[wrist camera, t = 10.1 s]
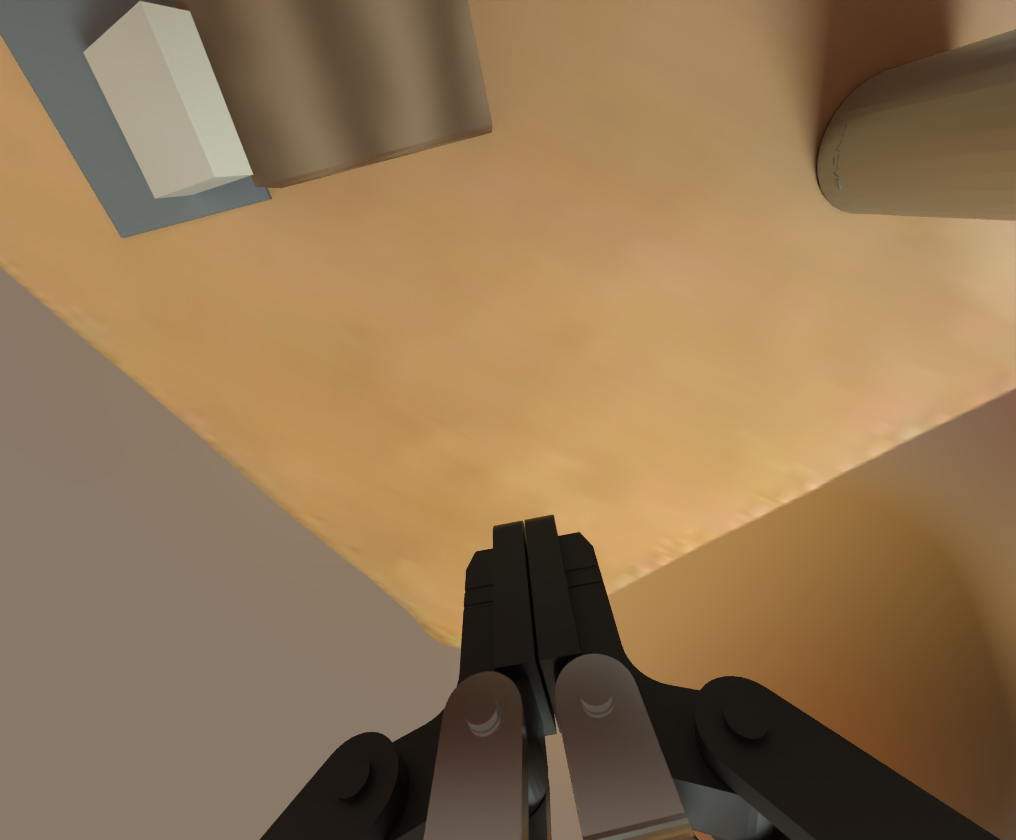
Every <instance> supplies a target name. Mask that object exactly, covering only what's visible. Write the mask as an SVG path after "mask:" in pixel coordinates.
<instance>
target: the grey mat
mask: <svg viewBox="0 0 1016 840" xmlns="http://www.w3.org/2000/svg"><path fill="white" fill-rule="evenodd" d="M139 1H143V2H148V3H153V4H158V5H163V6H167V7H172V8H177V7H176V5H175V2H174V0H0V34H1V36H2V38H3V39H4V41H5V43H6V44H7V46H8V48H9V49H10V51H11V53H12V55H13V56H14V58H15V60H16V61H17V63H18V65H19V66H20V68H21V70H22V71H23V73H24V75H25V76H26V78H27V80H28V81H29V83H30V85H31V86H32V88H33V90H34V92H35V93H36V95H37V97H38V98H39V100H40V102H41V103H42V105H43V107H44V108H45V110H46V112H47V113H48V115H49V117H50V118H51V120H52V122H53V123H54V125H55V127H56V129H57V130H58V132H59V134H60V135H61V137H62V139H63V140H64V142H65V144H66V145H67V147H68V149H69V150H70V152H71V154H72V155H73V157H74V159H75V160H76V162H77V164H78V166H79V167H80V169H81V171H82V172H83V174H84V176H85V177H86V179H87V181H88V182H89V184H90V186H91V187H92V189H93V191H94V192H95V194H96V196H97V197H98V199H99V201H100V202H101V204H102V206H103V208H104V209H105V211H106V213H107V214H108V216H109V218H110V219H111V221H112V223H113V224H114V226H115V228H116V229H117V231H118V233H119V234H120V236H121V238H125V237H129V236H132V235H136V234H140V233H144V232H148V231H151V230H155V229H159V228H163V227H167V226H170V225H174V224H178V223H182V222H186V221H189V220H193V219H197V218H201V217H205V216H208V215H212V214H216V213H220V212H224V211H227V210H231V209H235V208H239V207H243V206H246V205H250V204H254V203H258V202H262V201H265V200H269V199H272V198H271V196H270V193H269V191H268V189H267V187H255V185H254V182H253V180H252V178H251V176H248V177H245V178H242V179H239V180H236V181H233V182H230V183H227V184H224V185H221V186H218V187H215V188H212V189H209V190H206V191H203V192H200V193H197V194H194V195H188V196H177V197H167V198H156V199H155V198H154V195H153V193H152V191H151V189H150V187H149V185H148V183H147V181H146V179H145V177H144V175H143V173H142V171H141V169H140V167H139V165H138V163H137V161H136V159H135V157H134V155H133V153H132V151H131V149H130V147H129V145H128V143H127V141H126V139H125V136H124V134H123V132H122V130H121V128H120V126H119V124H118V122H117V120H116V118H115V116H114V114H113V112H112V110H111V108H110V106H109V104H108V102H107V100H106V98H105V96H104V94H103V92H102V90H101V88H100V86H99V84H98V82H97V80H96V77H95V75H94V73H93V71H92V69H91V67H90V65H89V63H88V61H87V59H86V57H85V55H84V53H83V52H84V51H85V50H86V49H87V48H88V47H89V46H91V45H92V44H93V43H94V42H95V41H96V40H97V39H98V38H99V37H101V36H102V35H103V34H104V33H105V32H106V31H107V30H108V29H109V28H110V27H112V26H113V25H114V24H115V23H116V22H117V21H118V20H119V19H120V18H121V17H123V16H124V15H125V14H126V13H127V12H128V11H129V10H130V9H131V8H133V7H134V6H135V5H136V4H137V3H138V2H139Z"/></svg>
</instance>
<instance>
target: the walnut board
mask: <svg viewBox="0 0 1016 840" xmlns="http://www.w3.org/2000/svg"><path fill="white" fill-rule="evenodd" d="M174 2H175V5H176V7H177V9H182V10H186V11H190V13H191V15H192V18H193V21H194V23H195V26H196V28H197V31H198V33H199V36H200V39H201V41H202V44H203V46H204V49H205V51H206V54H207V57H208V59H209V62H210V64H211V67H212V70H213V72H214V75H215V77H216V80H217V82H218V85H219V88H220V90H221V93H222V95H223V98H224V100H225V103H226V106H227V108H228V111H229V113H230V116H231V118H232V121H233V124H234V126H235V129H236V131H237V134H238V136H239V139H240V142H241V144H242V147H243V149H244V152H245V155H246V157H247V160H248V162H249V165H250V167H251V170H252V173H253V175H251V178H252V180H253V182H254V185H255V187H269V188H283V187H287V186H291V185H295V184H299V183H302V182H306V181H310V180H314V179H317V178H321V177H325V176H329V175H333V174H336V173H340V172H344V171H348V170H351V169H355V168H359V167H363V166H366V165H370V164H374V163H378V162H382V161H385V160H389V159H393V158H397V157H400V156H404V155H408V154H412V153H416V152H419V151H423V150H427V149H431V148H434V147H438V146H442V145H446V144H450V143H453V142H457V141H461V140H465V139H468V138H472V137H476V136H480V135H484V134H487V133H491V132H492V121H491V116H490V111H489V106H488V101H487V96H486V91H485V86H484V81H483V76H482V71H481V66H480V61H479V56H478V51H477V46H476V41H475V36H474V31H473V26H472V21H471V17H470V12H469V7H468V2H467V0H174Z"/></svg>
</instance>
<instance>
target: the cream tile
mask: <svg viewBox="0 0 1016 840" xmlns="http://www.w3.org/2000/svg"><path fill="white" fill-rule="evenodd" d="M83 53H84V55H85V57H86V59H87V61H88V63H89V65H90V67H91V69H92V71H93V73H94V75H95V77H96V80H97V82H98V84H99V86H100V88H101V90H102V92H103V94H104V96H105V98H106V100H107V102H108V104H109V106H110V108H111V110H112V112H113V114H114V116H115V118H116V120H117V122H118V124H119V126H120V128H121V130H122V132H123V134H124V136H125V139H126V141H127V143H128V145H129V147H130V149H131V151H132V153H133V155H134V157H135V159H136V161H137V163H138V165H139V167H140V169H141V171H142V173H143V175H144V177H145V179H146V181H147V183H148V185H149V187H150V189H151V191H152V193H153V195H154V198H155V199H156V198H167V197H177V196H188V195H194V194H197V193H200V192H203V191H206V190H209V189H212V188H215V187H218V186H221V185H224V184H227V183H230V182H233V181H236V180H239V179H242V178H245V177H248V176H251V175H253V173H252V170H251V167H250V165H249V162H248V160H247V157H246V155H245V152H244V149H243V147H242V144H241V142H240V139H239V136H238V134H237V131H236V129H235V126H234V124H233V121H232V118H231V116H230V113H229V111H228V108H227V106H226V103H225V100H224V98H223V95H222V93H221V90H220V88H219V85H218V82H217V80H216V77H215V75H214V72H213V70H212V67H211V64H210V62H209V59H208V57H207V54H206V51H205V49H204V46H203V44H202V41H201V39H200V36H199V33H198V31H197V28H196V26H195V23H194V21H193V18H192V15H191V13H190V11H186V10H182V9H177V8H172V7H167V6H163V5H158V4H153V3H148V2H143V1H139V2H138V3H137V4H136V5H135V6H134V7H133V8H131V9H130V10H129V11H128V12H127V13H126V14H125V15H124V16H123V17H121V18H120V19H119V20H118V21H117V22H116V23H115V24H114V25H113V26H112V27H110V28H109V29H108V30H107V31H106V32H105V33H104V34H103V35H102V36H101V37H99V38H98V39H97V40H96V41H95V42H94V43H93V44H92V45H91V46H89V47H88V48H87V49H86V50H85V51H84V52H83Z"/></svg>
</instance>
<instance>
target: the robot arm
mask: <svg viewBox="0 0 1016 840" xmlns="http://www.w3.org/2000/svg"><path fill="white" fill-rule="evenodd" d="M817 175H818V179H819V184H820V188H821V190H822V192H823V194H824V196H825V198H826V199H827V200H828V201H829V202H830V203H831V204H832V205H833V206H835V207H837V208H838V209H840V210H842V211H845V212H850V213H857V214H880V215H897V216H919V217H942V218H964V219H986V220H1009V221H1016V29H1015V30H1012V31H1009V32H1006V33H1003V34H1000V35H997V36H993V37H990V38H987V39H984V40H981V41H978V42H975V43H971V44H968V45H965V46H962V47H959V48H956V49H953V50H949V51H946V52H942V53H939V54H936V55H933V56H930V57H926V58H923V59H920V60H917V61H914V62H911V63H908V64H904V65H901V66H898V67H895V68H892V69H889V70H886V71H884V72H882V73H880V74H877V75H875V76H873V77H871V78H870V79H868V80H867V81H866V82H864V83H863V84H862V85H860V86H859V87H857V88H856V89H855V90H854V91H853V92H852V93H851V94H850V95H849V96H848V97H847V98H846V99H845V101H844V102H843V103H842V105H841V106H840V107H839V109H838V110H837V111H836V113H835V114H834V116H833V118H832V119H831V121H830V123H829V125H828V127H827V129H826V131H825V134H824V136H823V139H822V142H821V145H820V150H819V155H818V160H817ZM554 714H555V716H554ZM555 717H556V720H557V724H558V728H559V731H560V733H562V738H563V743H564V748H565V753H566V758H567V763H568V768H569V773H570V778H571V783H572V788H573V793H574V798H575V803H576V808H577V813H578V817H579V822H580V828H581V832H582V837H583V840H699V839H698V838H697V837H696V836H695V834H694V832H693V830H695V831H699V832H702V833H705V834H709V835H711V836H712V837H713V838H714V839H715V840H1000V839H998V838H997V837H995V836H993V835H992V834H991V833H989V832H988V831H986V830H984V829H983V828H982V827H980V826H978V825H977V824H975V823H974V822H972V821H971V820H969V819H967V818H966V817H965V816H963V815H962V814H960V813H958V812H957V811H955V810H954V809H952V808H951V807H949V806H948V805H946V804H944V803H943V802H941V801H940V800H938V799H937V798H935V797H934V796H932V795H930V794H929V793H927V792H926V791H924V790H923V789H921V788H920V787H918V786H917V785H915V784H914V783H912V782H911V781H909V780H907V779H906V778H905V777H903V776H901V775H900V774H898V773H897V772H895V771H893V770H892V769H891V768H889V767H888V766H886V765H884V764H883V763H881V762H880V761H878V760H877V759H875V758H874V757H872V756H870V755H869V754H868V753H866V752H864V751H863V750H861V749H860V748H858V747H857V746H855V745H854V744H852V743H851V742H849V741H847V740H846V739H844V738H842V737H841V736H840V735H838V734H837V733H835V732H834V731H832V730H831V729H829V728H827V727H826V726H824V725H823V724H821V723H820V722H818V721H817V720H815V719H814V718H812V717H811V716H809V715H807V714H806V713H804V712H803V711H801V710H800V709H798V708H797V707H795V706H794V705H792V704H791V703H789V702H787V701H786V700H784V699H783V698H781V697H780V696H778V695H777V694H775V693H774V692H772V691H770V690H769V689H767V688H766V687H764V686H762V685H760V684H759V683H757V682H754V681H752V680H749V679H746V678H742V677H735V676H724V677H720V678H716V679H714V680H711V681H710V682H708V683H707V684H705V685H704V687H703V688H702V689H701V690H694V689H689V688H683V687H678V686H672V685H667V684H663V683H660V682H658V681H655V680H653V679H651V678H649V677H647V676H646V675H644V674H643V673H641V672H640V671H639V670H638V669H637V668H636V667H635V666H634V665H633V664H632V663H631V662H630V660H629V659H628V658H627V656H626V654H625V652H624V650H623V647H622V644H621V641H620V638H619V634H618V631H617V627H616V624H615V621H614V617H613V613H612V610H611V607H610V603H609V600H608V596H607V593H606V589H605V586H604V583H603V579H602V576H601V572H600V569H599V566H598V562H597V559H596V555H595V552H594V548H593V546H592V545H591V544H590V543H589V542H588V541H587V540H586V538H585V537H584V536H583V535H582V534H581V533H580V532H577V533H572V534H567V535H561V536H558V534H557V529H556V524H555V519H554V515H548V516H543V517H538V518H533V519H527V520H525V526H524V523H523V521H518V522H512V523H507V524H502V525H497V526H494V527H493V549H487V550H482V551H477V552H475V554H474V556H473V558H472V560H471V562H470V564H469V566H468V567H467V569H466V581H465V597H464V612H463V628H462V643H461V659H460V674H459V681H458V684H457V687H456V688H455V690H454V691H453V692H452V693H451V695H450V697H449V699H448V701H447V703H446V706H445V708H444V709H443V710H442V711H441V713H440V714H439V715H438V716H437V717H435V718H434V719H433V720H431V721H430V722H428V723H427V724H426V725H423V726H422V727H420V728H418V729H416V730H414V731H412V732H411V733H409V734H407V735H405V736H403V737H401V738H400V739H398V740H396V741H394V742H391V740H390V739H389V738H387V737H386V736H385V735H383V734H380V733H376V732H366V733H362V734H359V735H356V736H354V737H352V738H351V739H349V740H347V741H346V742H344V743H343V744H342V745H341V746H340V747H339V748H337V749H336V750H335V752H334V753H333V754H332V755H331V756H330V757H329V758H328V759H327V761H326V762H325V763H324V764H323V766H322V767H321V768H320V769H319V770H318V771H317V772H316V774H315V775H314V776H313V777H312V778H311V780H310V781H309V782H308V783H307V784H306V786H305V787H304V788H303V789H302V790H301V791H300V793H299V794H298V795H297V796H296V797H295V798H294V800H293V801H292V802H291V803H290V804H289V806H288V807H287V808H286V809H285V810H284V812H283V813H282V814H281V815H280V816H279V818H278V819H277V820H276V821H275V822H274V823H273V824H272V826H271V827H270V828H269V829H268V830H267V832H266V833H265V834H264V835H263V836H262V838H261V839H260V840H552V838H551V837H552V836H551V810H550V786H549V779H548V765H547V755H546V745H545V736H547V735H553V734H556V733H557V732H556V724H555Z"/></svg>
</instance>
